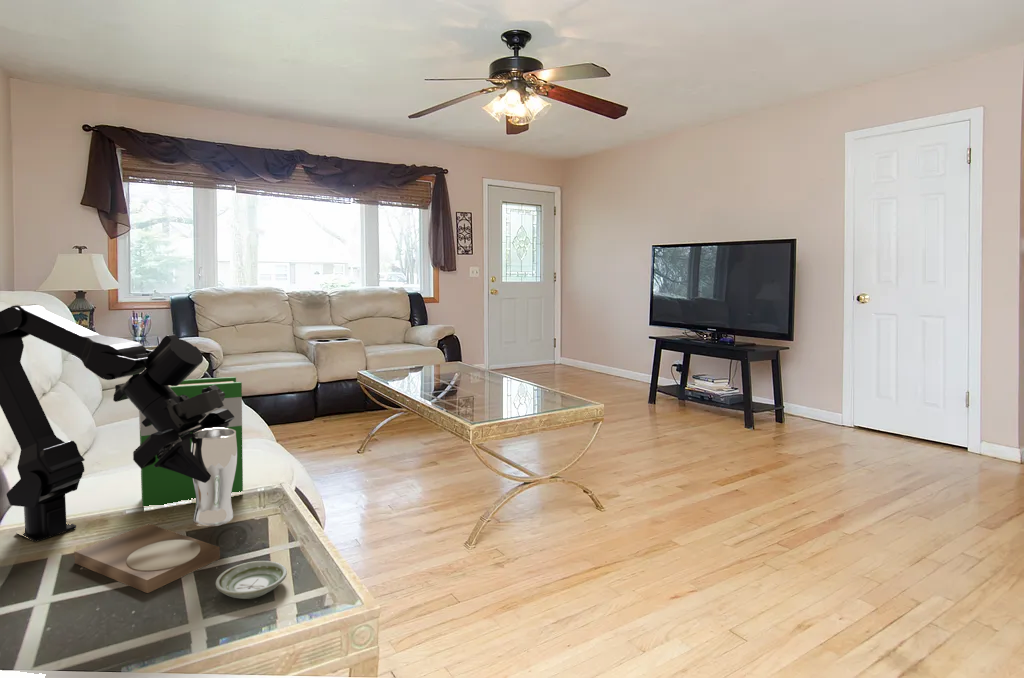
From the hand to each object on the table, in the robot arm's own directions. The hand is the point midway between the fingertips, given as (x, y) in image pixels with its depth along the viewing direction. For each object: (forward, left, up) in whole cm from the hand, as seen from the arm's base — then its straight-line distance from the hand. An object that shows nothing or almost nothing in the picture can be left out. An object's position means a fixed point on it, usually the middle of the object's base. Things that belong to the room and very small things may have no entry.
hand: (220, 473), depth 98 cm
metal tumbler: (-1, 0, -8) cm, 8 cm away
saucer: (+15, -7, -14) cm, 21 cm away
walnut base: (-6, -9, -13) cm, 17 cm away
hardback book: (-24, +12, -13) cm, 30 cm away
